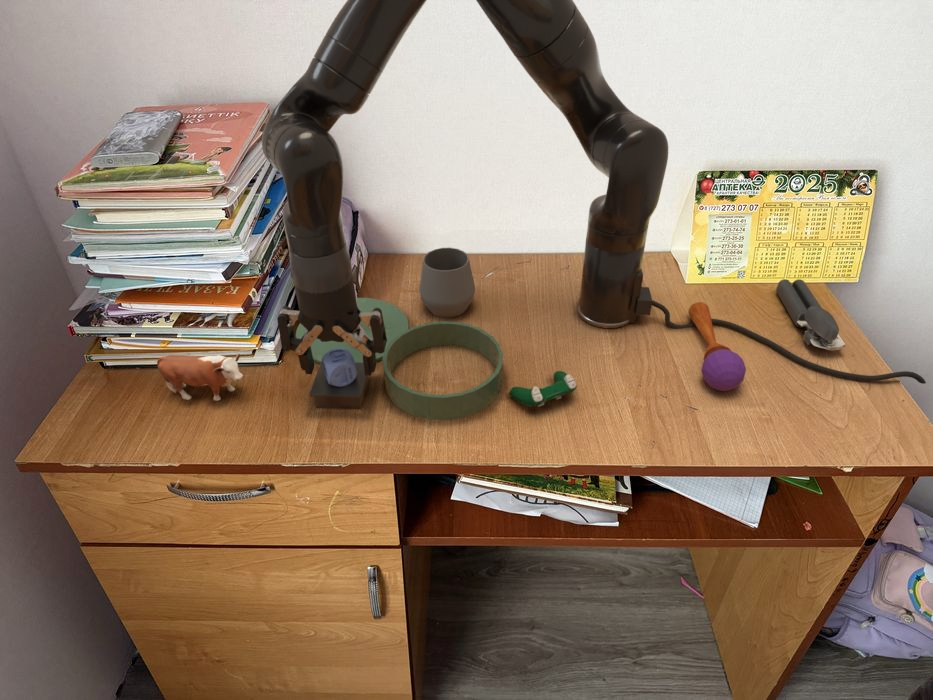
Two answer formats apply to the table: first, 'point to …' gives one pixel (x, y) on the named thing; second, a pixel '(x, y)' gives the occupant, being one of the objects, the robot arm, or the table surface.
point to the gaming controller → (544, 390)
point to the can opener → (809, 315)
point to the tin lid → (392, 322)
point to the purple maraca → (717, 354)
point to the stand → (339, 391)
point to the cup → (446, 282)
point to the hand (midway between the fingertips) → (339, 371)
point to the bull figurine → (199, 372)
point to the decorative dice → (339, 367)
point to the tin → (450, 403)
